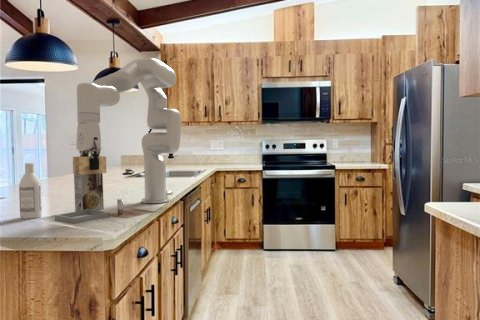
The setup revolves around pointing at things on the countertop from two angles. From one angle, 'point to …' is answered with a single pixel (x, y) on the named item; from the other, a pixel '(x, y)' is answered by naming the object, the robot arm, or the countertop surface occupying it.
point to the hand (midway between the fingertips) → (89, 168)
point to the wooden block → (88, 165)
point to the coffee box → (88, 191)
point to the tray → (69, 217)
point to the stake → (120, 206)
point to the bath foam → (30, 194)
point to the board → (131, 213)
